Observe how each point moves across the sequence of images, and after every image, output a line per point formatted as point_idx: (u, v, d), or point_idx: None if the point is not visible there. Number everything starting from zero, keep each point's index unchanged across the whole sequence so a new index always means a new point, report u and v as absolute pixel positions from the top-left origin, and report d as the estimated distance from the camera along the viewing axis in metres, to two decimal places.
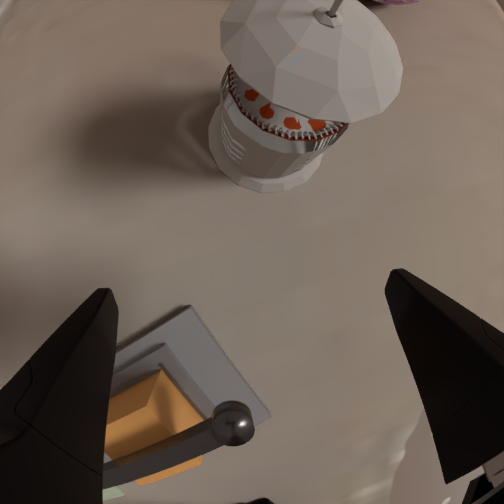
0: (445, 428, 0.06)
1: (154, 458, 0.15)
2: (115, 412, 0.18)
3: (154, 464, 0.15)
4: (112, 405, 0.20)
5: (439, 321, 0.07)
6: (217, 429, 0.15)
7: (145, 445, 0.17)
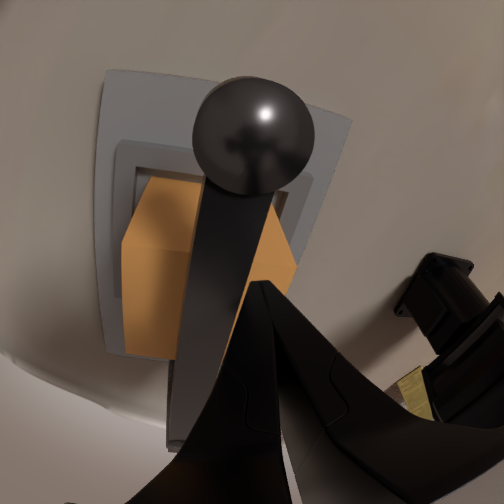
0: (299, 474, 0.06)
1: (192, 326, 0.09)
2: None
3: (207, 336, 0.09)
4: None
5: (279, 349, 0.07)
6: (217, 164, 0.06)
7: None
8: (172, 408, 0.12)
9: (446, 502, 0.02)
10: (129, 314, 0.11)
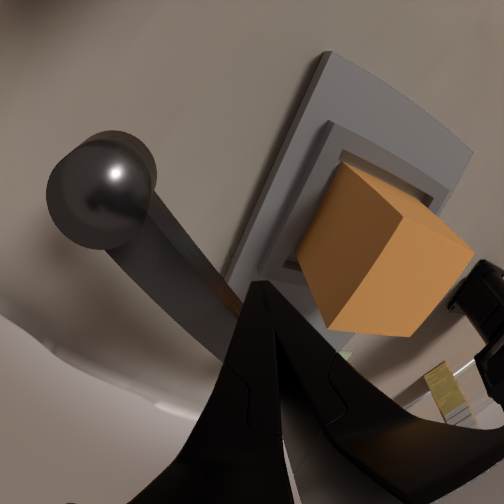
0: (298, 474, 0.06)
1: (214, 343, 0.09)
2: (343, 265, 0.13)
3: None
4: (318, 259, 0.15)
5: (278, 349, 0.07)
6: (94, 238, 0.06)
7: (412, 279, 0.12)
8: None
9: (445, 503, 0.02)
10: (364, 285, 0.12)
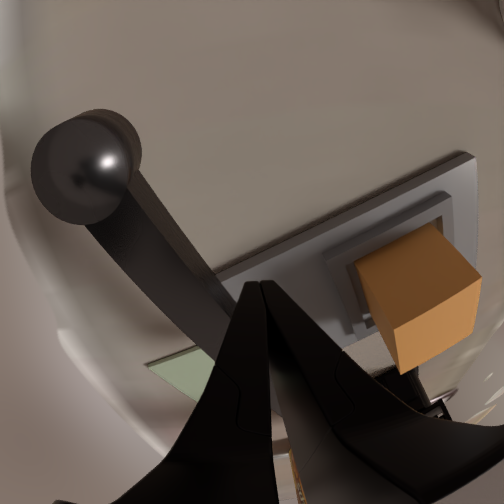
0: (304, 473, 0.06)
1: (195, 331, 0.09)
2: (420, 288, 0.15)
3: (216, 332, 0.09)
4: (388, 275, 0.17)
5: (284, 348, 0.07)
6: (74, 212, 0.06)
7: (448, 324, 0.15)
8: None
9: (452, 499, 0.02)
10: (437, 308, 0.14)
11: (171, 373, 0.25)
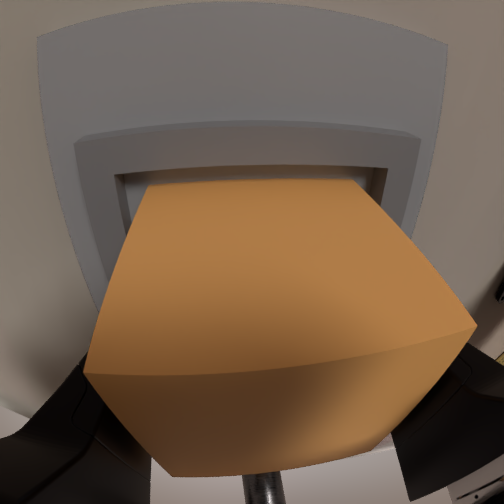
0: (407, 444, 0.06)
1: None
2: None
3: None
4: None
5: None
6: None
7: (274, 433, 0.05)
8: None
9: None
10: (158, 452, 0.05)
11: None
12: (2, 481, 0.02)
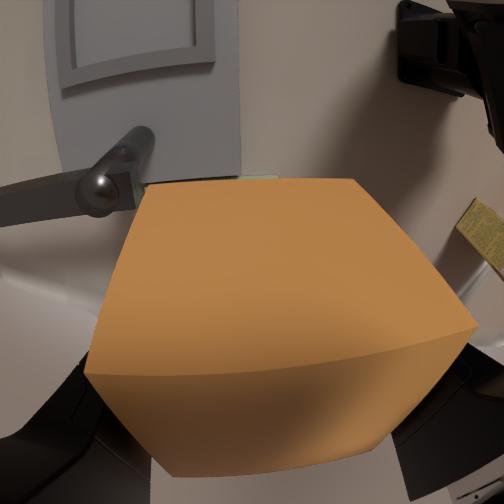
0: (407, 444, 0.06)
1: None
2: None
3: None
4: None
5: None
6: None
7: (274, 433, 0.05)
8: (5, 225, 0.10)
9: None
10: (159, 452, 0.05)
11: None
12: (2, 481, 0.02)
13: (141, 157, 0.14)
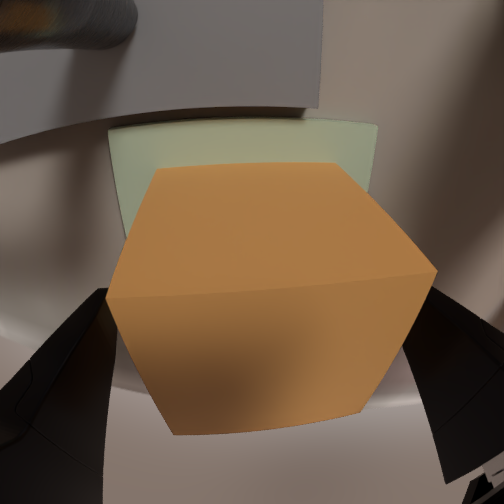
0: (445, 428, 0.06)
1: None
2: None
3: None
4: None
5: (439, 321, 0.07)
6: None
7: (264, 371, 0.06)
8: None
9: None
10: (162, 397, 0.06)
11: None
12: None
13: None
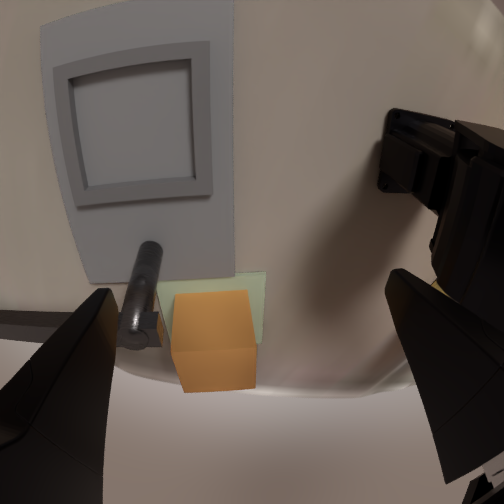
0: (445, 428, 0.06)
1: None
2: None
3: None
4: None
5: (439, 321, 0.07)
6: None
7: (211, 369, 0.22)
8: None
9: None
10: (182, 376, 0.22)
11: None
12: None
13: (156, 285, 0.18)
